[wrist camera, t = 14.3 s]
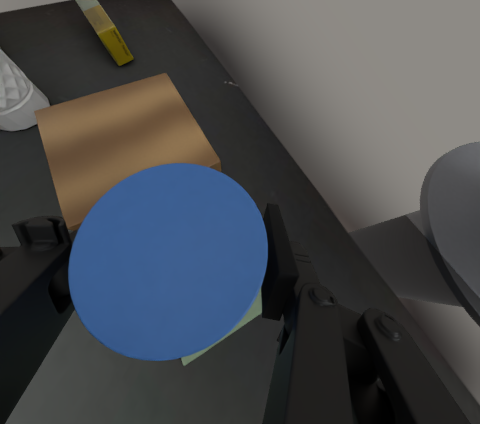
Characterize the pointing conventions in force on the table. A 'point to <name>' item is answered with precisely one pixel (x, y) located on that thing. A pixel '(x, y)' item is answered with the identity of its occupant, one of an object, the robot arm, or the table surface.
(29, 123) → the white cup
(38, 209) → the table surface
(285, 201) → the table surface
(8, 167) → the table surface
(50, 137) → the platform
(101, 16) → the medication box
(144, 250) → the stacked blue discs
